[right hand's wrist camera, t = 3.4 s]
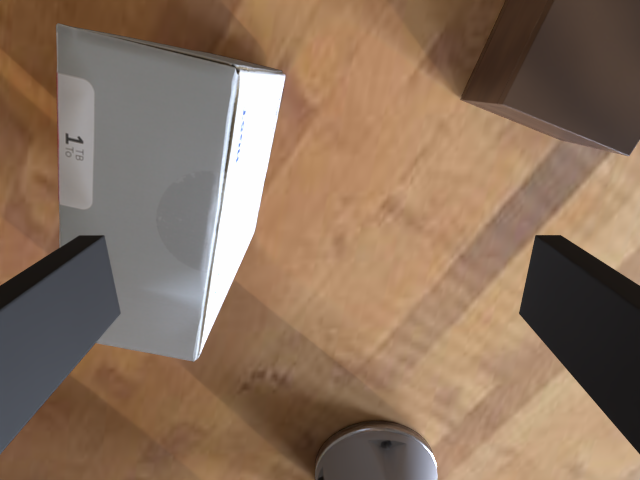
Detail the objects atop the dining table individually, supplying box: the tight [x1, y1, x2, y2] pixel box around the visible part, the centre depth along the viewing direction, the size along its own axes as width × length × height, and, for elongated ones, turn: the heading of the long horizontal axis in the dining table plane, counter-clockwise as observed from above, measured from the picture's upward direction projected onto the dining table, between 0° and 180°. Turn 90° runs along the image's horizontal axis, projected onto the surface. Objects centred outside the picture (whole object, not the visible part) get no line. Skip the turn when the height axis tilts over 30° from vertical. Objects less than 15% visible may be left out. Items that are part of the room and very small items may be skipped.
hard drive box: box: [56, 23, 285, 362], centre depth 28 cm, size 16×8×20 cm, turn 167°
